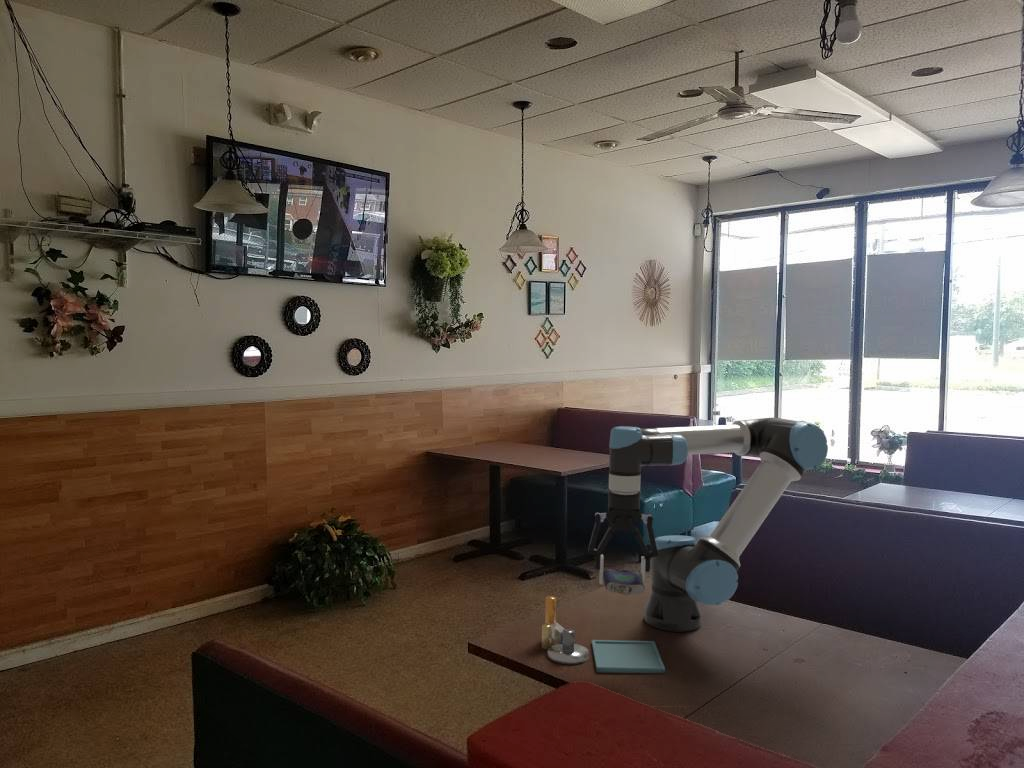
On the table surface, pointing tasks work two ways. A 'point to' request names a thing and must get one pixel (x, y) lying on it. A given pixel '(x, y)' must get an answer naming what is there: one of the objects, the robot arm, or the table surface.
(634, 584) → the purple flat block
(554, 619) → the crank
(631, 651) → the tray
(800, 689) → the table surface
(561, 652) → the crank base
